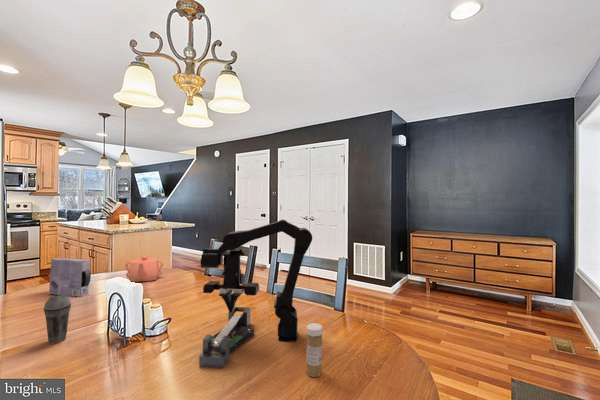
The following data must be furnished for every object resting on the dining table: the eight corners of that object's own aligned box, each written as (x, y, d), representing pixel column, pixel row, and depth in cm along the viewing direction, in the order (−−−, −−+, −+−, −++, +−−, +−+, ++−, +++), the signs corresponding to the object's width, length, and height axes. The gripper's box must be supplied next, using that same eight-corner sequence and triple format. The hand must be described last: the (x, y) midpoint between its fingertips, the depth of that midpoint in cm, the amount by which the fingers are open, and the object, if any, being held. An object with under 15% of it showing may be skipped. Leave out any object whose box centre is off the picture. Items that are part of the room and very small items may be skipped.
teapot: (119, 287, 155) (119, 262, 155) (127, 277, 173) (128, 255, 173) (160, 284, 162) (160, 260, 162) (164, 275, 180) (164, 253, 180)
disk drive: (230, 330, 108) (203, 349, 94) (230, 323, 108) (204, 340, 94) (254, 335, 104) (230, 356, 91) (254, 328, 104) (230, 347, 91)
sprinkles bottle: (313, 366, 85) (313, 321, 85) (325, 373, 82) (325, 326, 82) (302, 373, 82) (303, 326, 81) (314, 380, 78) (315, 331, 78)
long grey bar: (244, 314, 111) (244, 310, 111) (220, 348, 86) (220, 343, 86) (236, 314, 111) (236, 310, 111) (210, 348, 87) (210, 342, 87)
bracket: (250, 323, 113) (250, 306, 113) (223, 368, 83) (223, 344, 83) (232, 322, 114) (232, 305, 114) (199, 366, 84) (199, 343, 84)
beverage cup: (37, 347, 93) (38, 286, 93) (50, 336, 100) (51, 279, 100) (64, 344, 95) (64, 284, 95) (75, 334, 102) (75, 278, 102)
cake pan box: (91, 294, 144) (91, 259, 144) (82, 297, 139) (82, 261, 139) (58, 291, 147) (58, 257, 147) (48, 295, 142) (48, 259, 142)
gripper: (262, 263, 108) (262, 304, 108) (215, 261, 110) (214, 302, 110) (255, 271, 97) (254, 317, 97) (202, 269, 99) (202, 314, 99)
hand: (231, 311), depth 101 cm, fingers closed
